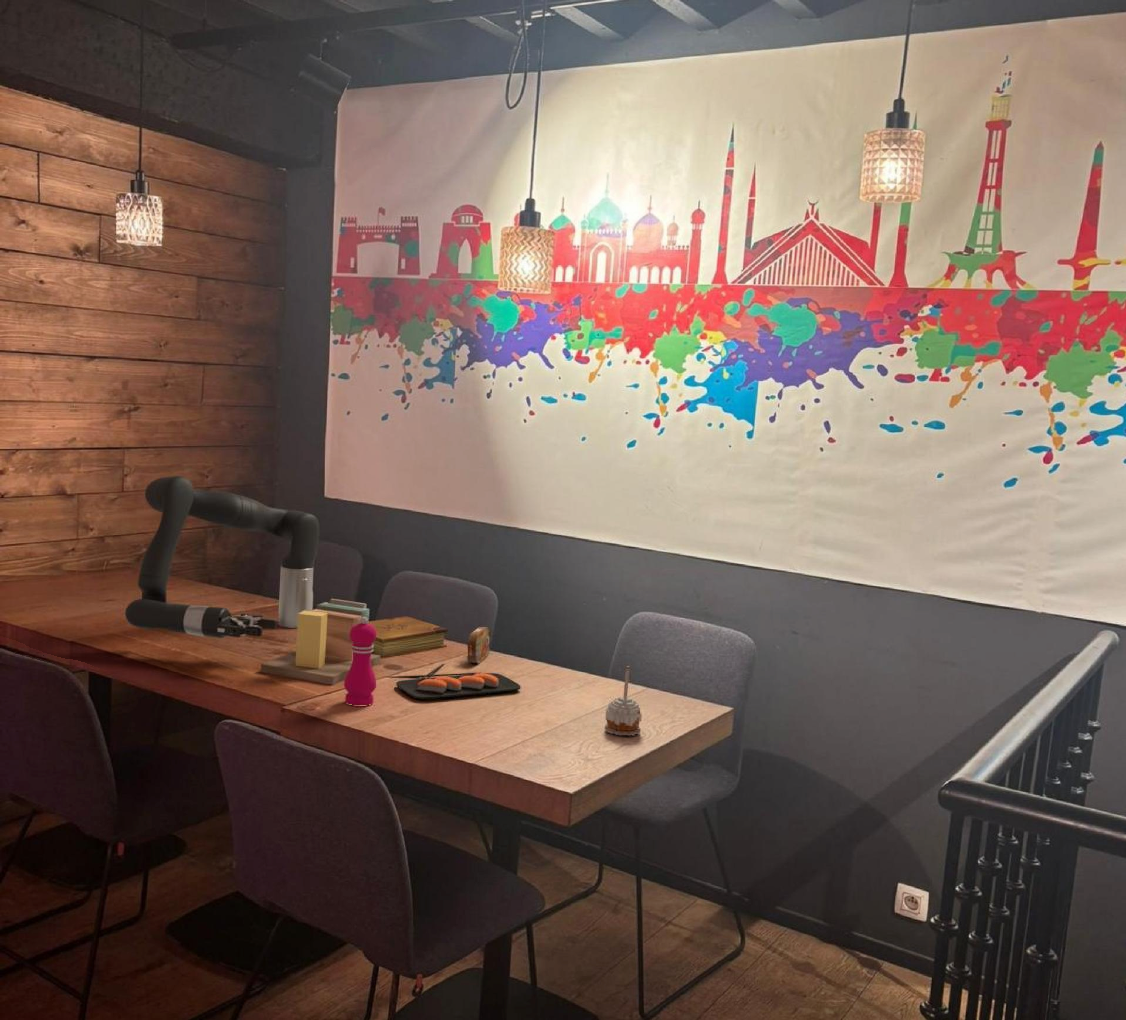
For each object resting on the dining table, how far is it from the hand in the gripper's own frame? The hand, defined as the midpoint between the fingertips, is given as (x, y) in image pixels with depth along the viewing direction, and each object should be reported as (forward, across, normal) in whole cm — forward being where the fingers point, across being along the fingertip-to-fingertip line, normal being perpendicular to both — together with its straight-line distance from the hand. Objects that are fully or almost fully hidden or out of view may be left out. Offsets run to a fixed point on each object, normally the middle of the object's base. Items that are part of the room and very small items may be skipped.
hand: (268, 628), depth 268 cm
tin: (+47, +30, +10) cm, 57 cm away
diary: (+22, +36, +11) cm, 43 cm away
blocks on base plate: (+12, +6, +10) cm, 17 cm away
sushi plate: (+44, +6, +11) cm, 46 cm away
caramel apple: (+90, -17, +10) cm, 92 cm away
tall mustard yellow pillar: (+11, 0, +8) cm, 14 cm away
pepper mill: (+30, -19, +10) cm, 37 cm away
